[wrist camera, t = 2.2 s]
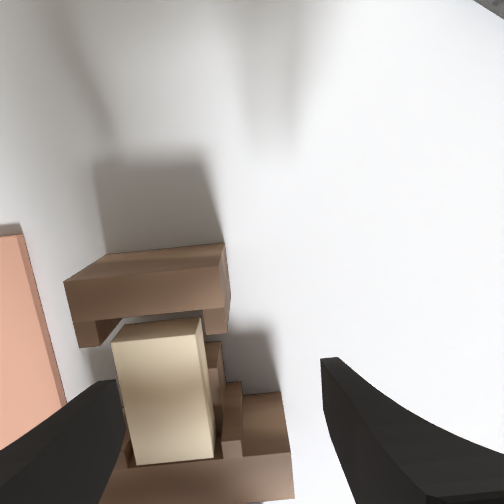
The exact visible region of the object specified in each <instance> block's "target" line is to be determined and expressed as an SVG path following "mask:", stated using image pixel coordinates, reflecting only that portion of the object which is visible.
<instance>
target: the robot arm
mask: <svg viewBox="0 0 504 504" xmlns="http://www.w3.org/2000/svg"><path fill="white" fill-rule="evenodd" d="M320 363H321V380H322V398H323V411H324V415H325V418H326V422H327V426H328V430H329V434H330V437H331V440H332V443H333V445H334V448H335V451H336V453H337V456H338V458H339V461H340V464H341V466H342V469H343V471H344V474H345V476H346V479H347V482H348V484H349V487H350V489H351V492H352V494H353V497H354V500H355V502H356V504H504V454H502V453H499V452H496V451H493V450H491V449H488V448H486V447H483V446H480V445H478V444H475V443H473V442H470V441H468V440H466V439H463V438H461V437H459V436H457V435H454V434H452V433H450V432H448V431H446V430H444V429H442V428H440V427H438V426H436V425H434V424H432V423H430V422H428V421H426V420H424V419H422V418H421V417H419V416H417V415H416V414H414V413H412V412H410V411H409V410H407V409H405V408H404V407H402V406H400V405H399V404H397V403H396V402H394V401H393V400H392V399H390V398H389V397H387V396H386V395H384V394H383V393H381V392H380V391H379V390H377V389H376V388H375V387H373V386H372V385H371V384H369V383H368V382H367V381H366V380H364V379H363V378H362V377H361V376H360V375H358V374H357V373H356V372H355V371H354V370H352V369H351V368H350V367H349V366H348V365H347V364H345V363H344V362H343V361H342V360H341V359H339V358H338V357H333V358H323V359H320ZM125 433H126V425H125V420H124V415H123V411H122V406H121V402H120V397H119V392H118V388H117V383H116V379H114V380H105V381H98V382H96V383H95V384H93V385H92V386H90V387H89V388H87V389H86V390H85V391H83V392H82V393H80V394H79V395H78V396H76V397H75V398H74V399H72V400H71V401H70V402H68V403H67V404H66V405H64V406H63V407H62V408H60V409H59V410H58V411H56V412H55V413H54V414H52V415H51V416H50V417H48V418H47V419H46V420H44V421H43V422H41V423H40V424H38V425H37V426H36V427H34V428H33V429H31V430H30V431H28V432H27V433H26V434H24V435H23V436H21V437H20V438H18V439H17V440H15V441H14V442H12V443H11V444H9V445H8V446H6V447H5V448H3V449H2V450H0V504H98V503H99V501H100V499H101V497H102V494H103V492H104V490H105V488H106V485H107V483H108V481H109V478H110V476H111V474H112V471H113V469H114V467H115V464H116V462H117V459H118V457H119V453H120V450H121V447H122V444H123V440H124V436H125Z"/></svg>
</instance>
